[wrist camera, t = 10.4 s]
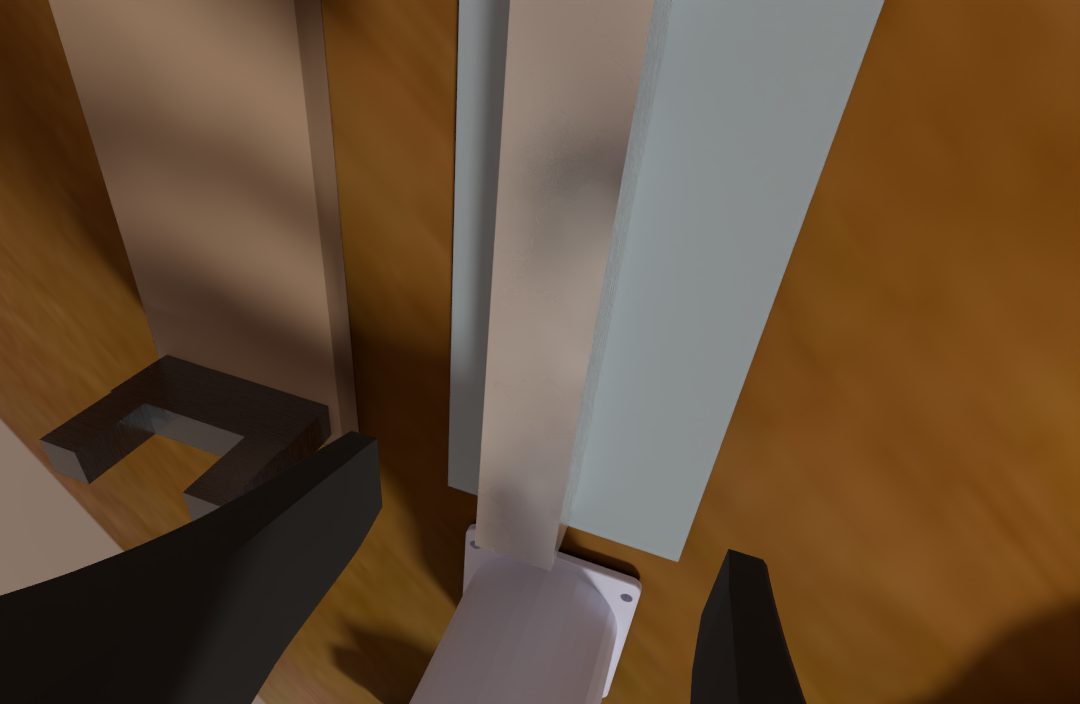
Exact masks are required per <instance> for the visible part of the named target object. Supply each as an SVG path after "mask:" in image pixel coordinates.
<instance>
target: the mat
mask: <svg viewBox="0 0 1080 704" xmlns="http://www.w3.org/2000/svg"><path fill="white" fill-rule="evenodd" d="M883 3H884V0H674V2H673V7H672V12H671V17H670V22H669V27H668V33H667V38H666V43H665V48H664V53H663V58H662V63H661V68H660V73H659V78H658V83H657V88H656V93H655V98H654V103H653V109H652V114H651V119H650V124H649V129H648V134H647V139H646V144H645V149H644V154H643V159H642V164H641V169H640V174H639V180H638V185H637V190H636V195H635V200H634V205H633V210H632V215H631V220H630V225H629V230H628V235H627V240H626V245H625V250H624V256H623V261H622V266H621V271H620V276H619V281H618V286H617V291H616V296H615V301H614V306H613V311H612V316H611V321H610V327H609V332H608V337H607V342H606V347H605V352H604V357H603V362H602V367H601V372H600V377H599V382H598V387H597V392H596V398H595V403H594V408H593V413H592V418H591V423H590V428H589V433H588V438H587V443H586V448H585V453H584V458H583V463H582V468H581V474H580V479H579V484H578V489H577V494H576V499H575V504H574V509H573V513H572V516H571V519H570V521H569V524H568V526H571V527H574V528H577V529H580V530H583V531H586V532H589V533H592V534H595V535H598V536H601V537H604V538H607V539H610V540H613V541H616V542H619V543H622V544H625V545H628V546H631V547H634V548H637V549H640V550H643V551H646V552H649V553H652V554H655V555H658V556H661V557H664V558H667V559H670V560H673V561H676V562H678V560H679V558H680V555H681V552H682V550H683V547H684V544H685V541H686V539H687V536H688V533H689V531H690V528H691V525H692V522H693V520H694V517H695V514H696V511H697V509H698V506H699V503H700V501H701V498H702V495H703V492H704V490H705V487H706V484H707V482H708V479H709V476H710V473H711V471H712V468H713V465H714V462H715V460H716V457H717V454H718V452H719V449H720V446H721V443H722V441H723V438H724V435H725V433H726V430H727V427H728V424H729V422H730V419H731V416H732V413H733V411H734V408H735V405H736V403H737V400H738V397H739V394H740V392H741V389H742V386H743V384H744V381H745V378H746V375H747V373H748V370H749V367H750V364H751V362H752V359H753V356H754V354H755V351H756V348H757V345H758V343H759V340H760V337H761V335H762V332H763V329H764V326H765V324H766V321H767V318H768V316H769V313H770V310H771V307H772V305H773V302H774V299H775V296H776V294H777V291H778V288H779V286H780V283H781V280H782V277H783V275H784V272H785V269H786V267H787V264H788V261H789V258H790V256H791V253H792V250H793V247H794V245H795V242H796V239H797V237H798V234H799V231H800V228H801V226H802V223H803V220H804V218H805V215H806V212H807V209H808V207H809V204H810V201H811V198H812V196H813V193H814V190H815V188H816V185H817V182H818V179H819V177H820V174H821V171H822V169H823V166H824V163H825V160H826V158H827V155H828V152H829V149H830V147H831V144H832V141H833V139H834V136H835V133H836V130H837V128H838V125H839V122H840V120H841V117H842V114H843V111H844V109H845V106H846V103H847V101H848V98H849V95H850V92H851V90H852V87H853V84H854V81H855V79H856V76H857V73H858V71H859V68H860V65H861V62H862V60H863V57H864V54H865V52H866V49H867V46H868V43H869V41H870V38H871V35H872V32H873V30H874V27H875V24H876V22H877V19H878V16H879V13H880V11H881V8H882V5H883ZM509 9H510V0H459V33H458V76H457V118H456V161H455V204H454V246H453V289H452V332H451V374H450V417H449V460H448V486H450V487H453V488H456V489H459V490H462V491H465V492H468V493H471V494H474V495H477V496H478V488H479V473H480V458H481V442H482V427H483V411H484V396H485V380H486V365H487V349H488V334H489V318H490V303H491V288H492V272H493V257H494V241H495V226H496V210H497V195H498V179H499V164H500V148H501V133H502V118H503V102H504V87H505V71H506V56H507V40H508V25H509Z"/></svg>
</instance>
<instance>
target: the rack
mask: <svg viewBox="0 0 1080 704" xmlns="http://www.w3.org/2000/svg"><path fill="white" fill-rule="evenodd" d="M49 3H50V6H51V10H52V13H53V16H54V19H55V23H56V26H57V29H58V32H59V36H60V39H61V42H62V45H63V49H64V52H65V55H66V58H67V61H68V65H69V68H70V71H71V74H72V78H73V81H74V84H75V87H76V91H77V94H78V97H79V100H80V104H81V107H82V110H83V113H84V116H85V120H86V123H87V126H88V129H89V133H90V136H91V139H92V142H93V146H94V149H95V152H96V155H97V159H98V162H99V165H100V168H101V172H102V175H103V178H104V181H105V184H106V188H107V191H108V194H109V197H110V201H111V204H112V207H113V210H114V214H115V217H116V220H117V223H118V227H119V230H120V233H121V236H122V239H123V243H124V246H125V249H126V252H127V256H128V259H129V262H130V265H131V269H132V272H133V275H134V278H135V282H136V285H137V288H138V291H139V295H140V298H141V301H142V304H143V307H144V311H145V314H146V317H147V320H148V324H149V327H150V330H151V333H152V337H153V340H154V343H155V346H156V350H157V353H158V356H159V360H157V361H156V362H154V363H153V364H151V365H150V366H148V367H147V368H145V369H144V370H142V371H140V372H139V373H137V374H136V375H134V376H133V377H131V378H130V379H128V380H127V381H125V382H124V383H122V384H120V385H119V386H117V387H116V388H114V389H113V390H111V391H110V392H111V393H110V394H108V395H107V396H105V397H104V398H102V399H101V400H99V401H98V402H96V403H94V404H93V405H91V406H90V407H88V408H87V409H85V410H84V411H82V412H81V413H79V414H78V415H76V416H75V417H73V418H71V419H70V420H68V421H67V422H65V423H64V424H62V425H61V426H59V427H58V428H56V429H55V430H53V431H52V432H50V433H49V434H47V435H45V436H44V437H42V438H41V439H39V440H40V442H41V444H42V446H43V448H44V450H45V452H46V454H47V456H48V458H49V460H50V463H51V465H52V467H53V469H54V471H55V472H58V473H61V474H63V475H66V476H69V477H71V478H74V479H76V480H79V481H82V482H84V483H87V484H90V483H91V482H93V481H94V480H95V479H97V478H98V477H99V476H100V475H102V474H103V473H104V472H106V471H107V470H108V469H110V468H111V467H112V466H114V465H115V464H116V463H117V462H119V461H120V460H121V459H123V458H124V457H125V456H127V455H128V454H129V453H131V452H132V451H133V450H134V449H136V448H137V447H138V446H140V445H141V444H142V443H144V442H145V441H146V440H148V439H149V438H150V437H151V436H153V435H154V434H155V433H156V434H159V435H161V436H164V437H167V438H170V439H173V440H176V441H179V442H181V443H184V444H187V445H190V446H193V447H196V448H199V449H201V450H204V451H207V452H210V453H213V454H216V455H219V456H221V457H222V458H221V459H219V460H218V461H217V462H216V463H215V464H214V465H213V466H212V467H211V468H209V469H208V470H207V471H206V472H205V473H204V474H203V475H202V476H201V477H199V478H198V479H197V480H196V481H195V482H194V483H193V484H192V485H191V486H189V487H188V488H187V489H186V490H185V491H184V492H183V495H184V498H185V501H186V504H187V507H188V510H189V513H190V516H191V519H192V521H194V520H196V519H198V518H200V517H202V516H204V515H206V514H208V513H210V512H212V511H214V510H215V509H217V508H219V507H221V506H223V505H225V504H227V503H229V502H230V501H232V500H234V499H236V498H238V497H240V496H242V495H243V494H245V493H247V492H249V491H251V490H252V489H254V488H256V487H258V486H259V485H261V484H263V483H264V482H266V481H268V480H270V479H271V478H273V477H275V476H276V475H278V474H280V473H282V472H283V471H285V470H287V469H288V468H290V467H292V466H293V465H295V464H297V463H298V462H300V461H302V460H303V459H305V458H307V457H308V456H310V455H311V454H313V453H315V452H316V451H317V450H318V449H319V448H320V447H321V446H322V445H323V444H326V445H328V444H330V443H331V442H333V441H335V440H336V439H338V438H340V437H341V436H343V435H345V434H347V433H348V432H350V431H354V432H357V433H359V427H358V416H357V405H356V393H355V382H354V371H353V360H352V348H351V337H350V326H349V315H348V303H347V292H346V281H345V270H344V258H343V247H342V236H341V225H340V213H339V202H338V191H337V179H336V168H335V157H334V146H333V134H332V123H331V112H330V101H329V89H328V78H327V67H326V56H325V44H324V33H323V22H322V11H321V0H49Z"/></svg>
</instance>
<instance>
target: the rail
mask: <svg viewBox="0 0 1080 704" xmlns="http://www.w3.org/2000/svg"><path fill="white" fill-rule="evenodd" d="M673 2H674V0H510V9H509V25H508V40H507V56H506V71H505V87H504V102H503V118H502V133H501V148H500V164H499V179H498V195H497V210H496V226H495V241H494V257H493V272H492V288H491V303H490V318H489V334H488V349H487V365H486V380H485V396H484V411H483V427H482V442H481V458H480V473H479V488H478V504H477V519H476V535H475V545H476V546H479V547H482V548H485V549H487V550H490V551H493V552H496V553H499V554H502V555H505V556H507V557H510V558H513V559H516V560H519V561H522V562H525V563H527V564H530V565H533V566H536V567H539V568H542V569H545V570H547V571H550V572H551V569H552V567H553V564H554V561H555V559H556V556H557V553H558V551H559V548H560V545H561V543H562V540H563V537H564V535H565V532H566V529H567V527H568V524H569V521H570V519H571V516H572V513H573V509H574V504H575V499H576V494H577V489H578V484H579V479H580V474H581V468H582V463H583V458H584V453H585V448H586V443H587V438H588V433H589V428H590V423H591V418H592V413H593V408H594V403H595V398H596V392H597V387H598V382H599V377H600V372H601V367H602V362H603V357H604V352H605V347H606V342H607V337H608V332H609V327H610V321H611V316H612V311H613V306H614V301H615V296H616V291H617V286H618V281H619V276H620V271H621V266H622V261H623V256H624V250H625V245H626V240H627V235H628V230H629V225H630V220H631V215H632V210H633V205H634V200H635V195H636V190H637V185H638V180H639V174H640V169H641V164H642V159H643V154H644V149H645V144H646V139H647V134H648V129H649V124H650V119H651V114H652V109H653V103H654V98H655V93H656V88H657V83H658V78H659V73H660V68H661V63H662V58H663V53H664V48H665V43H666V38H667V33H668V27H669V22H670V17H671V12H672V7H673Z"/></svg>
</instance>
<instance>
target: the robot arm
mask: <svg viewBox="0 0 1080 704" xmlns="http://www.w3.org/2000/svg"><path fill="white" fill-rule="evenodd" d="M381 508H382V495H381V482H380V469H379V456H378V443H377V439H376V438H373V437H370V436H367V435H364V434H360V433H357V432H354V431H350V432H348V433H347V434H345V435H343V436H341V437H340V438H338V439H336V440H335V441H333V442H331V443H330V444H328V445H326V446H325V447H323V448H321V449H320V450H318V451H316V452H315V453H313V454H311V455H310V456H308V457H307V458H305V459H303V460H302V461H300V462H298V463H297V464H295V465H293V466H292V467H290V468H288V469H287V470H285V471H283V472H282V473H280V474H278V475H276V476H275V477H273V478H271V479H270V480H268V481H266V482H264V483H263V484H261V485H259V486H258V487H256V488H254V489H252V490H251V491H249V492H247V493H245V494H243V495H242V496H240V497H238V498H236V499H234V500H232V501H230V502H229V503H227V504H225V505H223V506H221V507H219V508H217V509H215V510H214V511H212V512H210V513H208V514H206V515H204V516H202V517H200V518H198V519H196V520H194V521H192V522H190V523H188V524H186V525H184V526H182V527H180V528H178V529H176V530H173V531H171V532H169V533H167V534H165V535H162V536H160V537H158V538H156V539H153V540H151V541H149V542H147V543H144V544H142V545H140V546H137V547H135V548H133V549H130V550H128V551H125V552H122V553H120V554H118V555H115V556H112V557H110V558H107V559H104V560H102V561H99V562H97V563H94V564H92V565H89V566H86V567H84V568H81V569H79V570H76V571H74V572H71V573H68V574H65V575H62V576H59V577H56V578H53V579H50V580H47V581H45V582H41V583H39V584H35V585H32V586H29V587H26V588H23V589H20V590H17V591H13V592H10V593H8V594H4V595H1V596H0V704H251V703H252V702H253V700H254V698H255V696H256V695H257V693H258V692H259V690H260V688H261V687H262V685H263V684H264V682H265V680H266V679H267V677H268V675H269V674H270V672H271V670H272V669H273V667H274V665H275V664H276V662H277V661H278V659H279V658H280V656H281V655H282V653H283V652H284V650H285V649H286V648H287V646H288V645H289V643H290V642H291V640H292V639H293V638H294V636H295V635H296V634H297V632H298V631H299V629H300V628H301V627H302V625H303V624H304V623H305V621H306V620H307V619H308V617H309V616H310V615H311V613H312V612H313V611H314V609H315V608H316V607H317V605H318V604H319V602H320V601H321V600H322V598H323V597H324V596H325V594H326V593H327V592H328V590H329V589H330V588H331V586H332V585H333V584H334V582H335V581H336V579H337V578H338V577H339V575H340V574H341V573H342V571H343V570H344V569H345V567H346V566H347V564H348V563H349V562H350V560H351V559H352V557H353V556H354V555H355V553H356V552H357V550H358V549H359V547H360V546H361V544H362V542H363V540H364V539H365V537H366V535H367V533H368V532H369V530H370V528H371V526H372V525H373V523H374V521H375V519H376V517H377V515H378V514H379V512H380V510H381ZM475 535H476V524H472V525H470V526H469V528H468V530H467V532H466V542H465V562H464V581H463V596H462V598H461V600H460V602H459V604H458V606H457V608H456V610H455V612H454V614H453V616H452V618H451V620H450V622H449V624H448V626H447V629H446V631H445V633H444V635H443V637H442V639H441V641H440V643H439V645H438V647H437V649H436V651H435V653H434V655H433V657H432V659H431V661H430V663H429V665H428V667H427V669H426V671H425V673H424V675H423V677H422V679H421V681H420V683H419V685H418V687H417V689H416V691H415V693H414V695H413V697H412V699H411V701H410V703H409V704H601V701H602V698H603V697H606V696H607V694H608V691H609V688H610V685H611V682H612V679H613V676H614V673H615V670H616V667H617V664H618V661H619V658H620V655H621V652H622V649H623V646H624V643H625V639H626V636H627V633H628V630H629V627H630V624H631V621H632V618H633V615H634V612H635V609H636V606H637V603H638V600H639V597H640V593H641V589H642V585H641V583H640V582H639V581H638V580H637V579H636V578H634V577H631V576H628V575H625V574H623V573H620V572H617V571H614V570H611V569H608V568H605V567H602V566H599V565H596V564H593V563H590V562H587V561H585V560H582V559H579V558H576V557H573V556H570V555H567V554H564V553H561V552H558V553H557V556H556V559H555V561H554V564H553V567H552V569H551V572H550V571H547V570H545V569H542V568H539V567H536V566H533V565H530V564H527V563H525V562H522V561H519V560H516V559H513V558H510V557H507V556H505V555H502V554H499V553H496V552H493V551H490V550H487V549H485V548H482V547H479V546H476V545H475ZM690 704H806V701H805V699H804V696H803V693H802V690H801V687H800V684H799V681H798V678H797V675H796V672H795V669H794V666H793V663H792V660H791V657H790V654H789V650H788V647H787V644H786V641H785V637H784V634H783V630H782V627H781V623H780V619H779V616H778V612H777V608H776V604H775V600H774V596H773V592H772V588H771V583H770V579H769V574H768V568H767V565H766V564H765V562H764V561H763V560H762V559H759V558H756V557H753V556H750V555H746V554H743V553H740V552H737V551H734V550H731V549H728V552H727V554H726V556H725V559H724V561H723V564H722V566H721V569H720V571H719V573H718V576H717V578H716V581H715V583H714V586H713V588H712V590H711V593H710V595H709V598H708V600H707V603H706V605H705V607H704V610H703V612H702V615H701V621H700V627H699V633H698V638H697V644H696V651H695V657H694V663H693V669H692V685H691V701H690Z"/></svg>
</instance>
